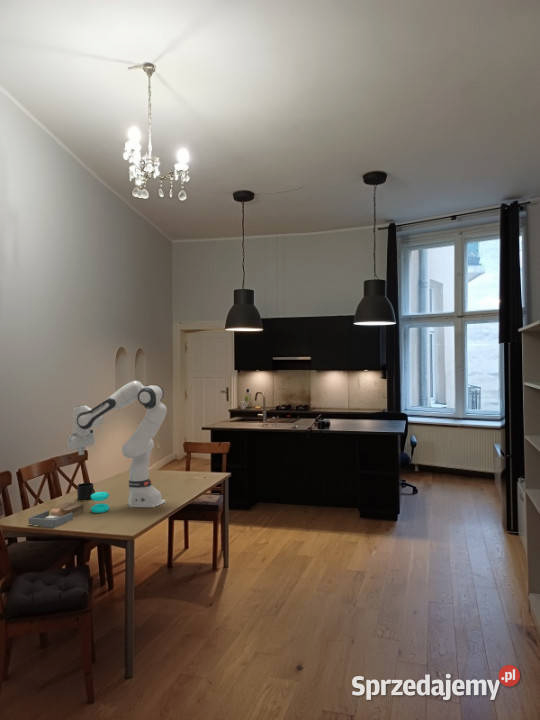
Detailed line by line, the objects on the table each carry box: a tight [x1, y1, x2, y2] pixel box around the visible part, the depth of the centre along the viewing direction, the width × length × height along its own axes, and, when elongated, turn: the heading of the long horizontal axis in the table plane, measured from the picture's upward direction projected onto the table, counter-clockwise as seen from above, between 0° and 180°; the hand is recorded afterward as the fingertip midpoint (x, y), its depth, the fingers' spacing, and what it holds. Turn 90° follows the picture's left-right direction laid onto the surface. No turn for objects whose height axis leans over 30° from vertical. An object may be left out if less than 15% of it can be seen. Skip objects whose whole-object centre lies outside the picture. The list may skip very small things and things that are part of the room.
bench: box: [54, 502, 85, 518], centre depth 289 cm, size 11×12×5 cm
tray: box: [28, 510, 74, 529], centre depth 277 cm, size 17×14×4 cm
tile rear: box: [49, 507, 64, 517], centre depth 281 cm, size 5×5×2 cm
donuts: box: [90, 491, 110, 514], centre depth 297 cm, size 10×10×10 cm
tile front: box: [45, 514, 59, 520], centre depth 278 cm, size 5×5×2 cm
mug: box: [76, 482, 96, 501], centre depth 324 cm, size 9×12×9 cm
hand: (81, 454), depth 315 cm, fingers closed
